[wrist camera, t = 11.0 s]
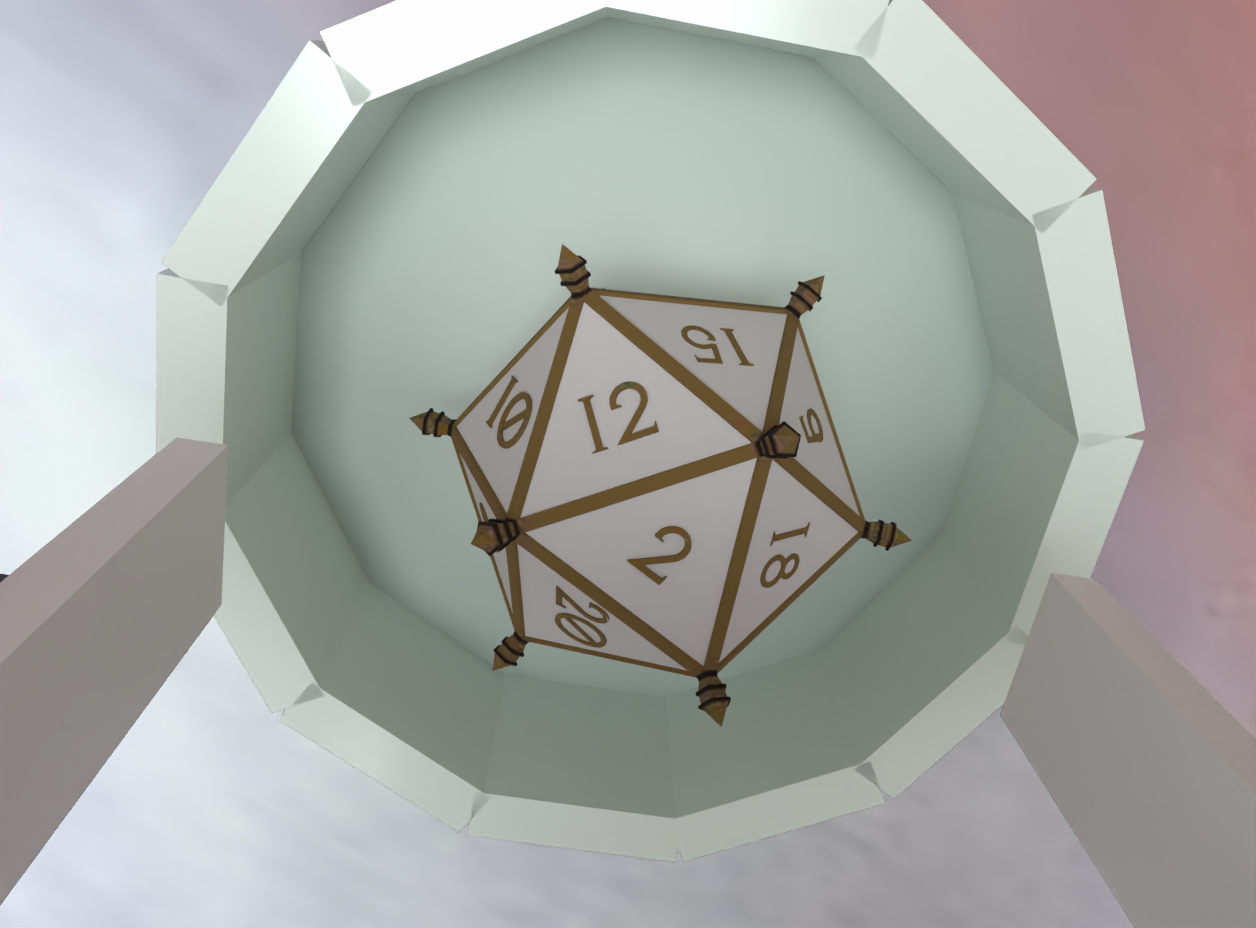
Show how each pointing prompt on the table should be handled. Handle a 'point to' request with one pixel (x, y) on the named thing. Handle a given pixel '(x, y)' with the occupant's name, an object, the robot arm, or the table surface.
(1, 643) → the robot arm
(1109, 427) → the bowl
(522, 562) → the game die
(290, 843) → the table surface
